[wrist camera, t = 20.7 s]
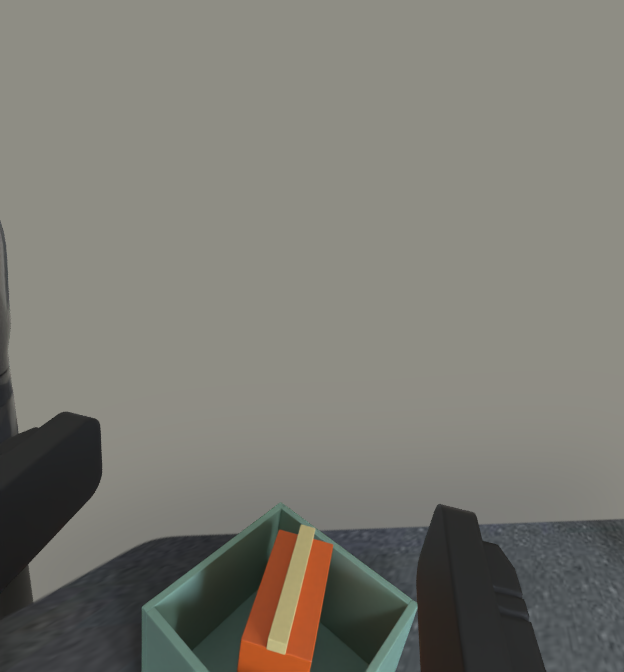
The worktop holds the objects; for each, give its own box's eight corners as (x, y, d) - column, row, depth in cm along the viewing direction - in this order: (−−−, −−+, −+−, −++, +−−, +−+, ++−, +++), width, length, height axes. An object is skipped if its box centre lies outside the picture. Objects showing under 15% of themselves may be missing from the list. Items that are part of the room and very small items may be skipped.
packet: (226, 742, 30) (241, 630, 26) (264, 619, 39) (280, 518, 34) (288, 764, 30) (314, 653, 25) (313, 633, 38) (336, 533, 34)
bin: (141, 692, 33) (141, 606, 29) (269, 574, 44) (280, 501, 40) (277, 880, 25) (299, 796, 22) (391, 682, 36) (418, 604, 32)
